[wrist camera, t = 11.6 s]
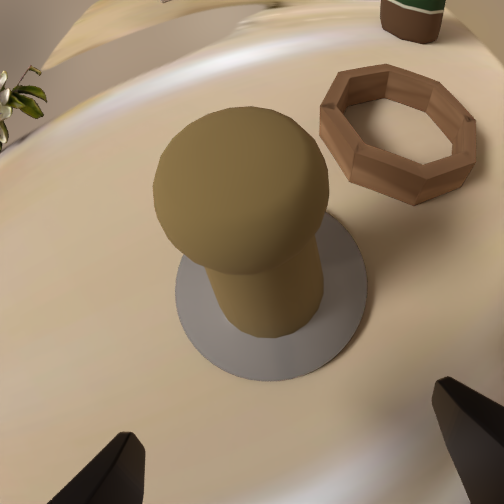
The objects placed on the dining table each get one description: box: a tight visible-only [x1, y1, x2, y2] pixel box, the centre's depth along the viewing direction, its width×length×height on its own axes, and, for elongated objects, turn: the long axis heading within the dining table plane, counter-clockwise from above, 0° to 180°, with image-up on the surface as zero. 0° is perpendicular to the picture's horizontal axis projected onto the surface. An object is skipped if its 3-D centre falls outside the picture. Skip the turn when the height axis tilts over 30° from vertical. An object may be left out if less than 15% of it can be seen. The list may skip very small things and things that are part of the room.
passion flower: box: [0, 65, 47, 151], centre depth 29 cm, size 11×11×12 cm
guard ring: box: [319, 64, 476, 206], centre depth 20 cm, size 11×11×3 cm
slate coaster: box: [175, 212, 367, 381], centre depth 18 cm, size 11×11×1 cm
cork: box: [153, 106, 329, 338], centre depth 13 cm, size 6×6×11 cm
